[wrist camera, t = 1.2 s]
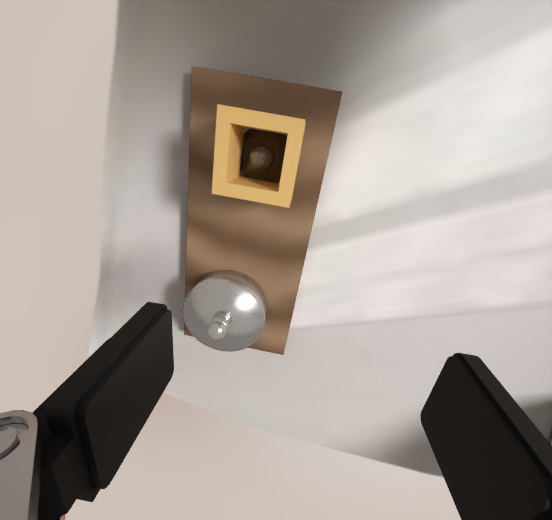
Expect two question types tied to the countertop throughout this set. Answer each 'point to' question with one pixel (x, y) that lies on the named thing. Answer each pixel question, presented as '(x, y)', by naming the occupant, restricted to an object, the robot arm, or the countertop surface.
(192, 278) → the board
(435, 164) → the countertop surface
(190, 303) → the hub
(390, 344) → the countertop surface
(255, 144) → the round drawer knob
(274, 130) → the hollow square block
